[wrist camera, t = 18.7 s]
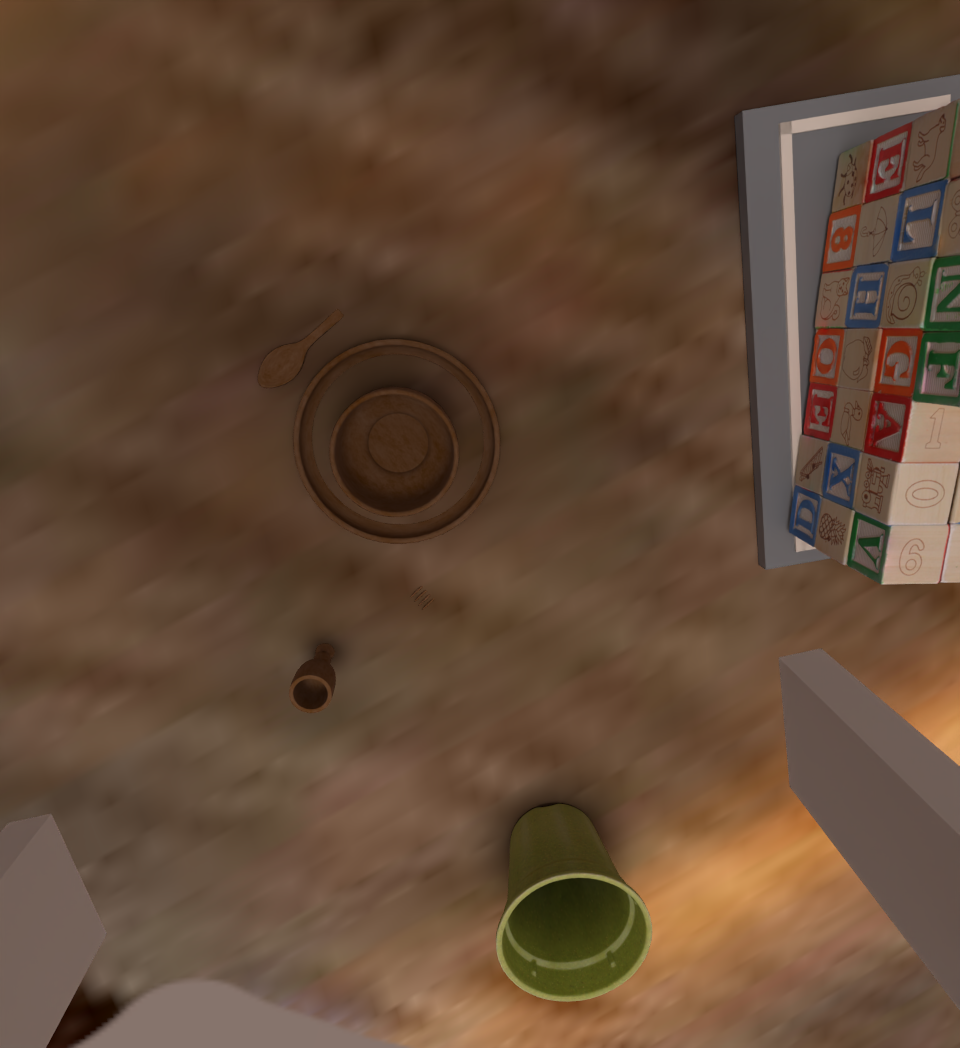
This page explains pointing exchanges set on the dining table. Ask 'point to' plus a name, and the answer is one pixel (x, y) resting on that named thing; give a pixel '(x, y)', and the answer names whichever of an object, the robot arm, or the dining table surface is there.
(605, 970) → the plant pot
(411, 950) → the dining table surface
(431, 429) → the place setting
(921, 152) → the stack of blocks
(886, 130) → the blueprint baseplate
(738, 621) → the dining table surface
